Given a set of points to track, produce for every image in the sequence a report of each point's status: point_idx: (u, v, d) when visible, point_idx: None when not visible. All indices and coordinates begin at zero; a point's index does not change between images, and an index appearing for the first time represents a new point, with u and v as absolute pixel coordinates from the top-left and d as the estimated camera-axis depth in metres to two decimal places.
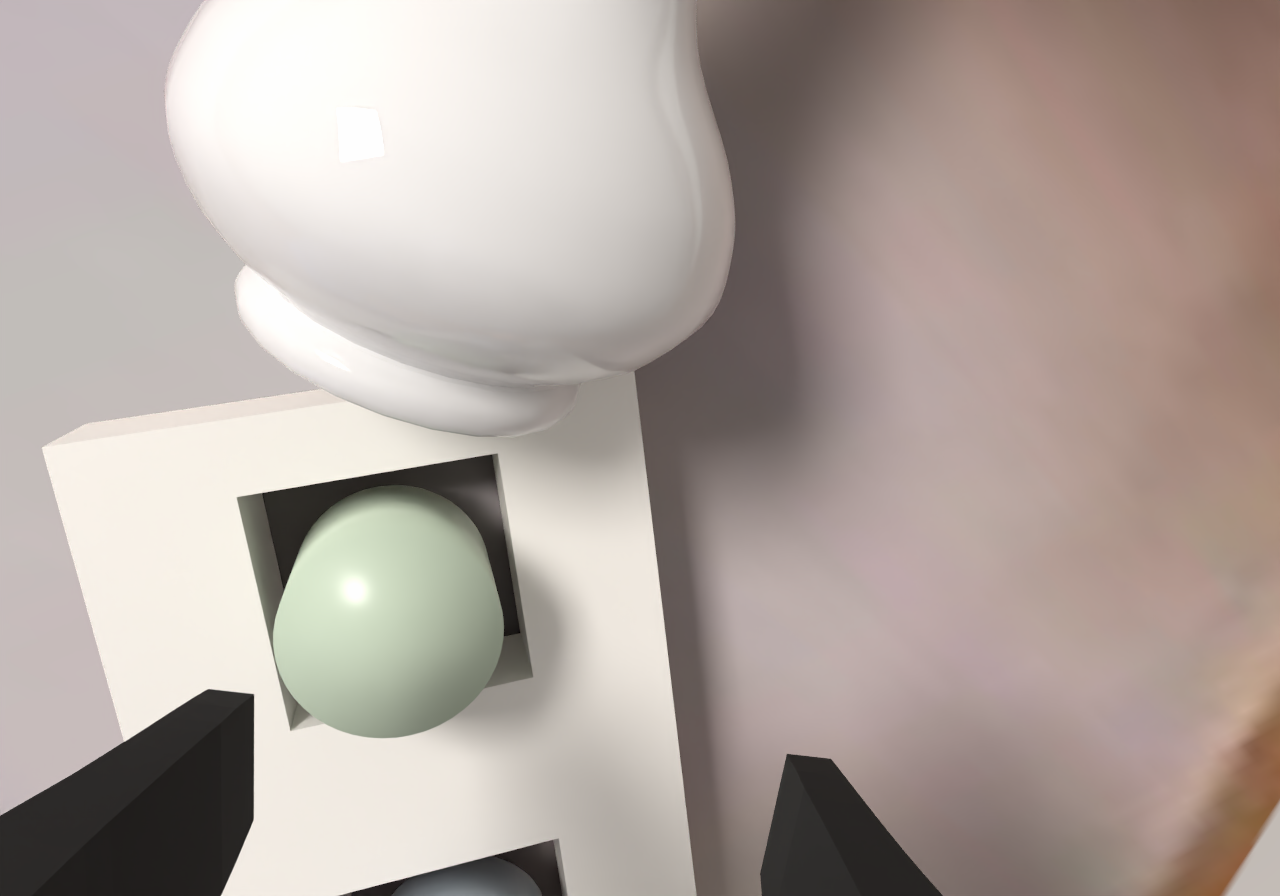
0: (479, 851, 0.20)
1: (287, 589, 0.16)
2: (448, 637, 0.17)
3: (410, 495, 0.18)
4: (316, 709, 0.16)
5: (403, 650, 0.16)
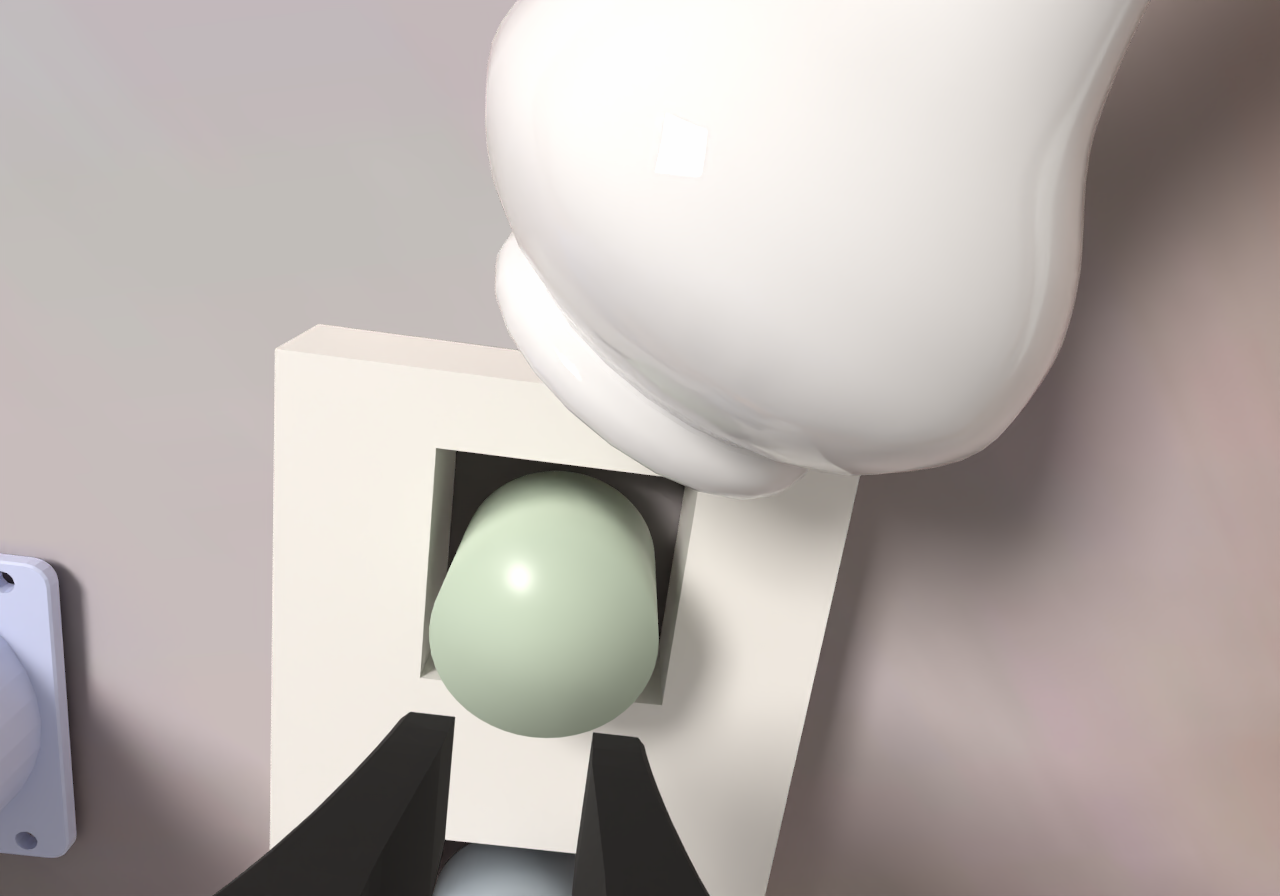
0: (557, 844, 0.20)
1: (460, 565, 0.15)
2: (597, 659, 0.16)
3: (599, 494, 0.18)
4: (452, 684, 0.16)
5: (550, 657, 0.16)
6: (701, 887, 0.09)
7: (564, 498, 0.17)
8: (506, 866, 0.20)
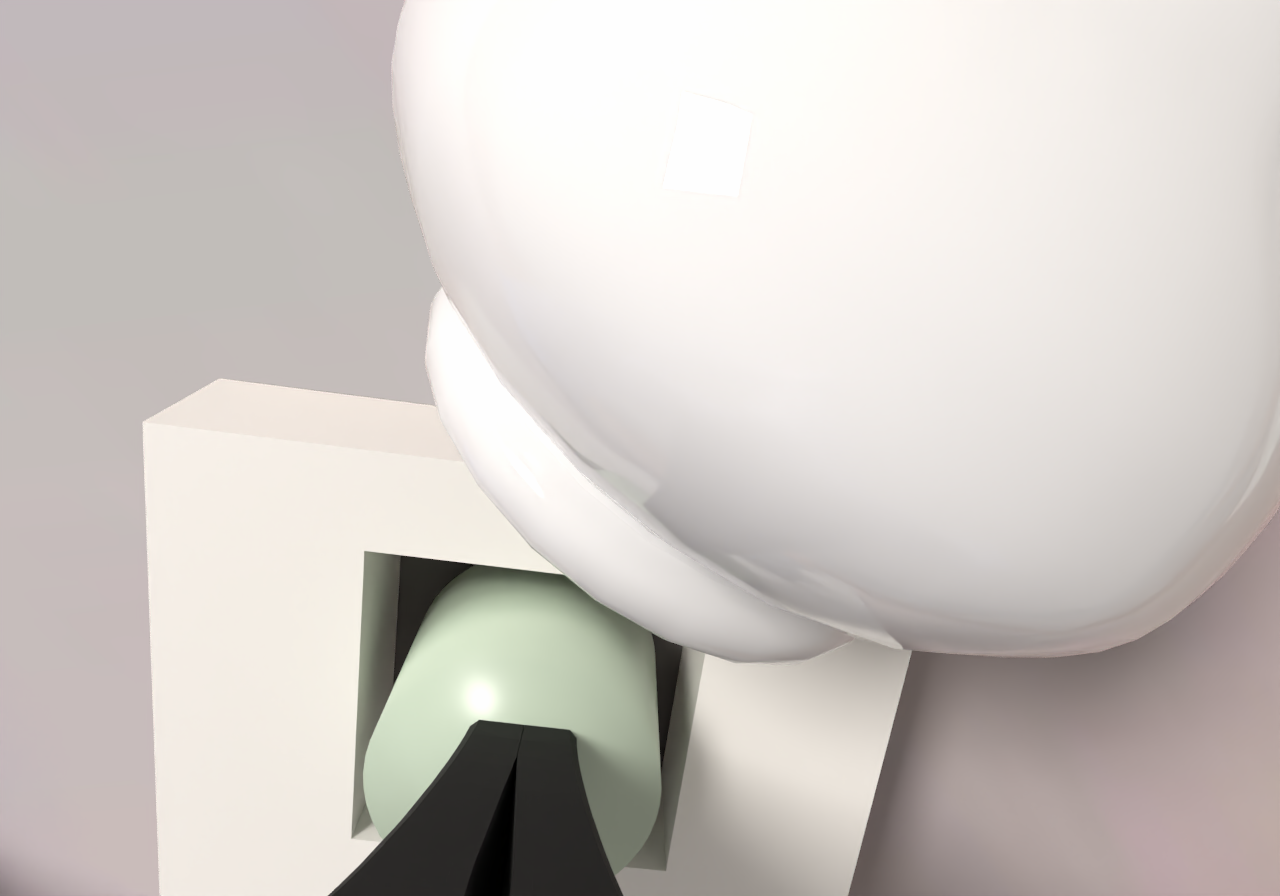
0: None
1: (402, 695, 0.12)
2: None
3: None
4: None
5: None
6: (610, 878, 0.09)
7: (540, 596, 0.13)
8: None
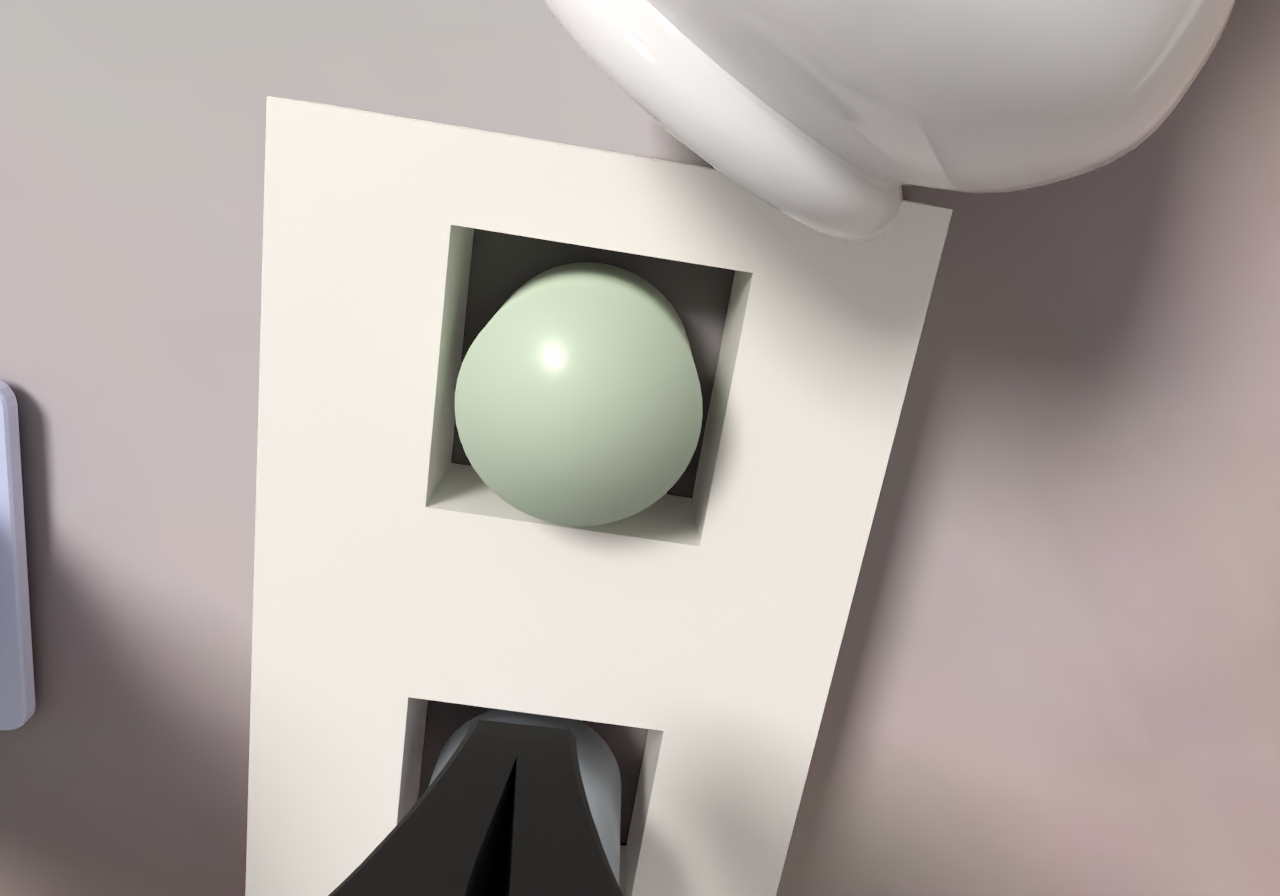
0: (576, 711, 0.18)
1: (490, 322, 0.14)
2: (635, 435, 0.15)
3: (637, 280, 0.16)
4: (478, 461, 0.15)
5: (584, 432, 0.15)
6: (609, 878, 0.09)
7: (600, 274, 0.16)
8: None
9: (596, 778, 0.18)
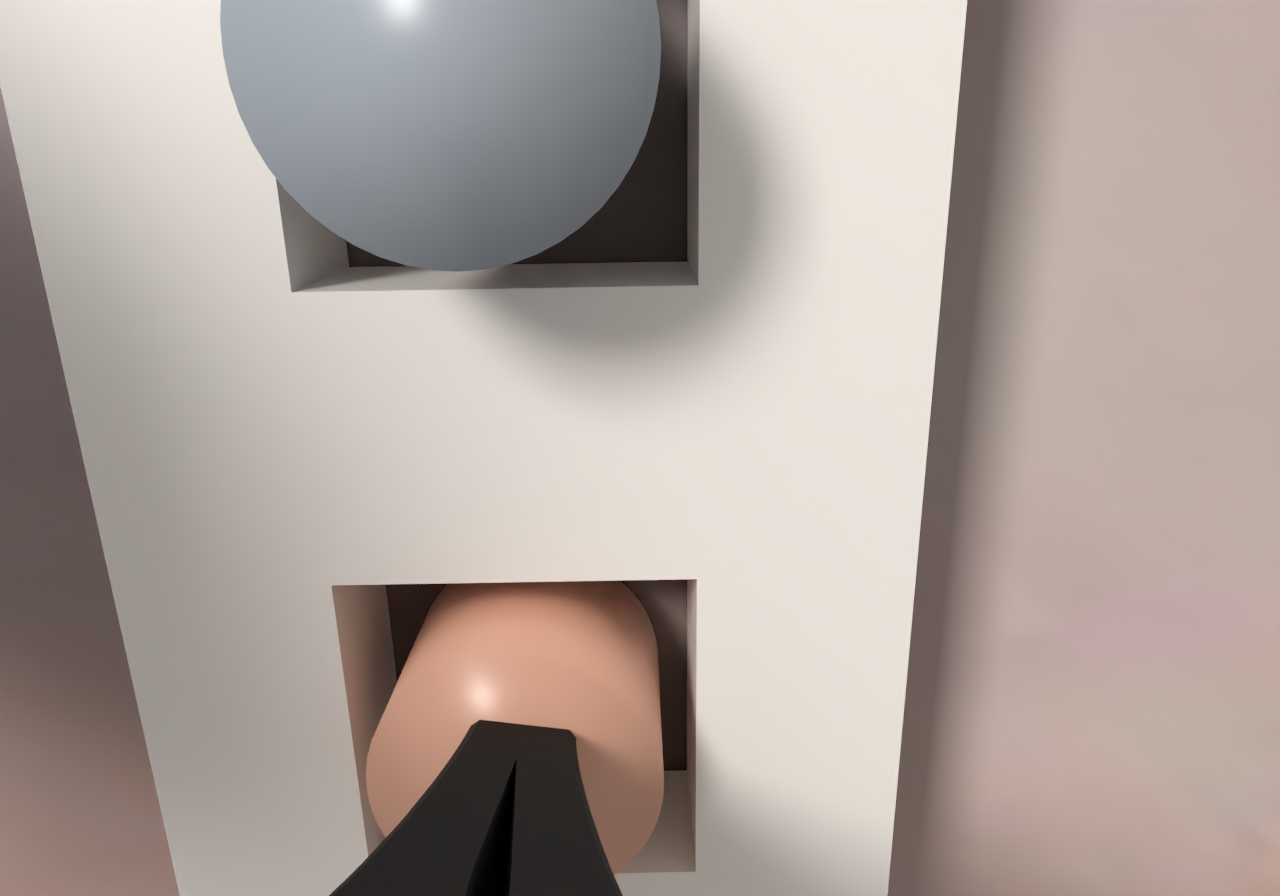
0: None
1: None
2: None
3: None
4: None
5: None
6: (609, 877, 0.09)
7: None
8: None
9: None
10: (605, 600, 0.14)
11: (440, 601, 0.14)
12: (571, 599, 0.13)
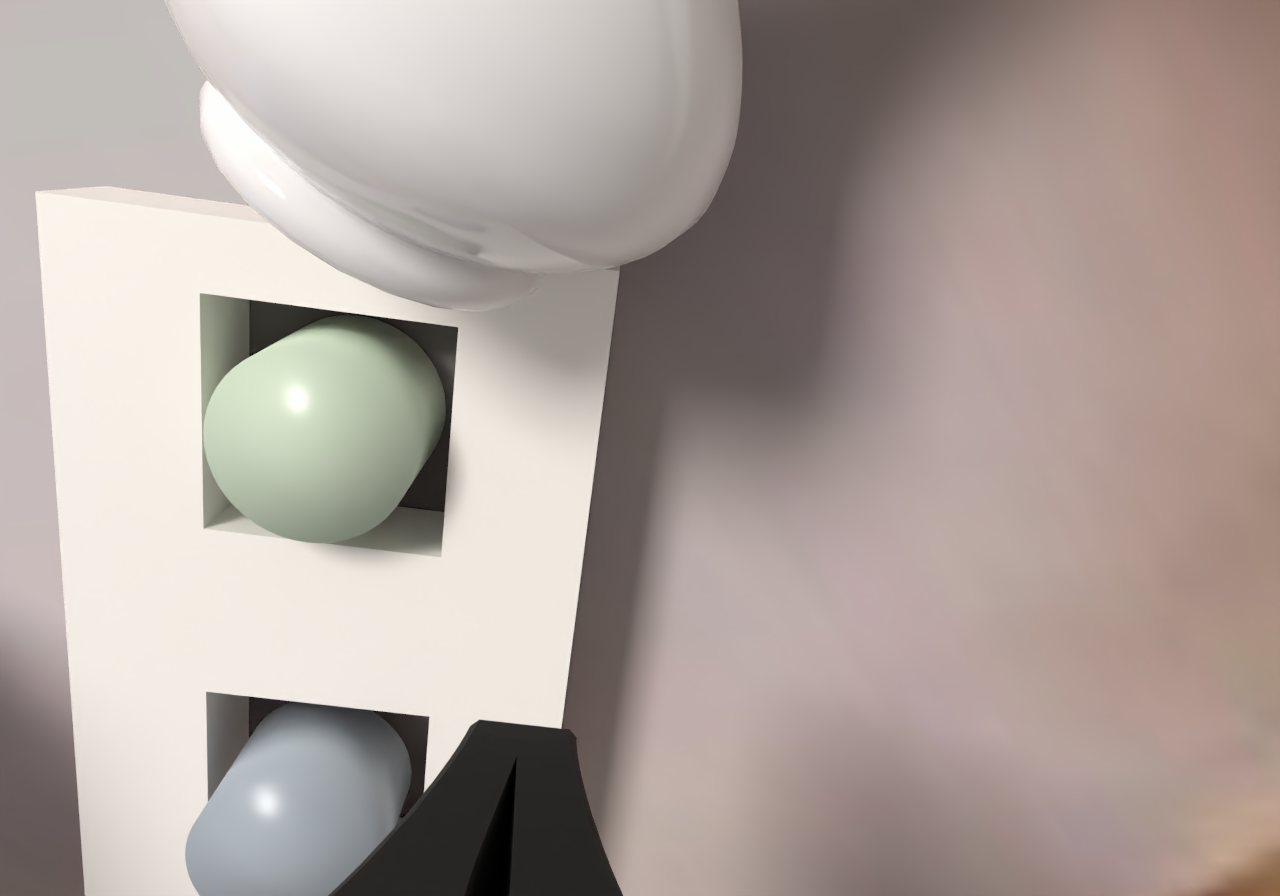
0: (351, 701, 0.21)
1: (227, 375, 0.17)
2: (359, 466, 0.18)
3: (380, 331, 0.19)
4: (229, 490, 0.18)
5: (316, 464, 0.18)
6: (609, 878, 0.09)
7: (340, 329, 0.19)
8: (303, 723, 0.21)
9: (371, 758, 0.21)
10: None
11: None
12: None
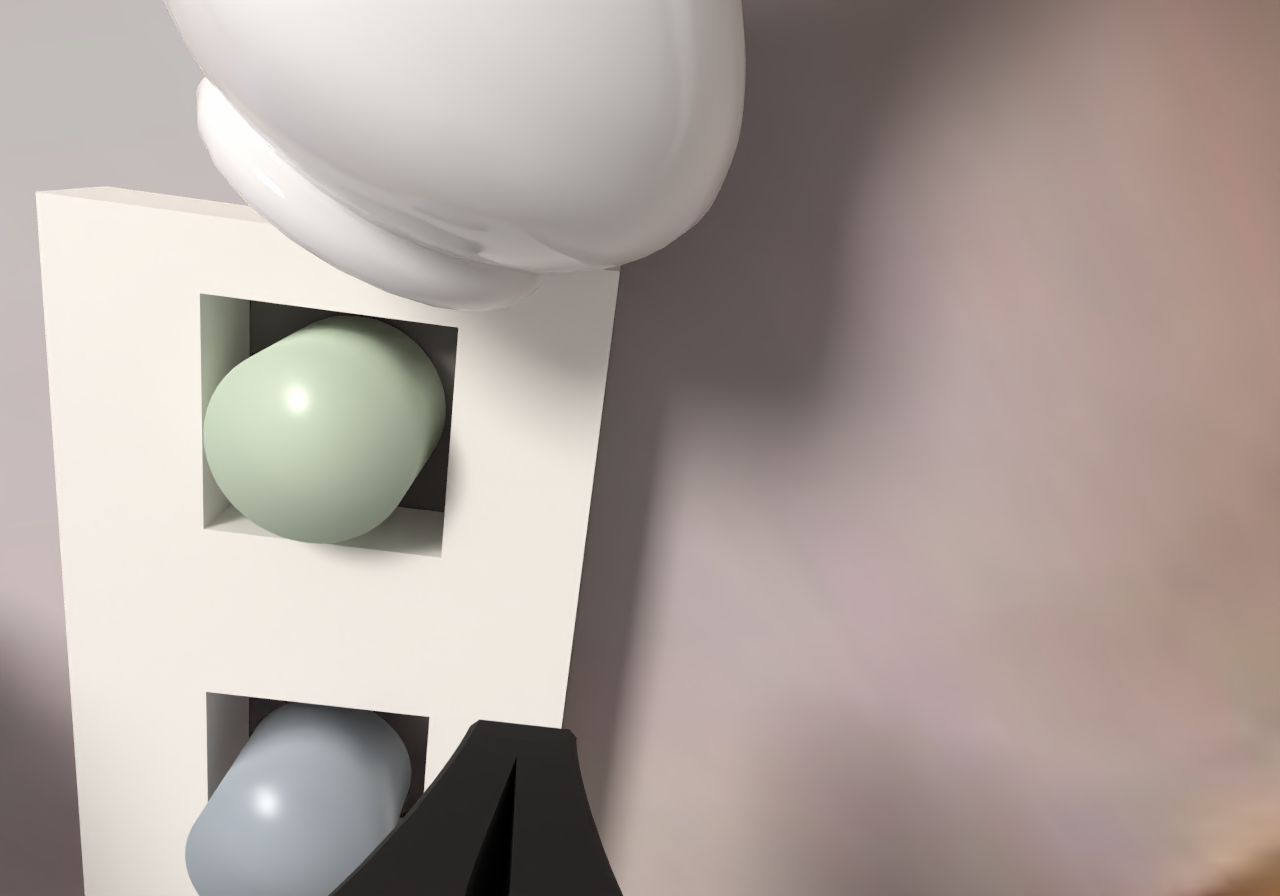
0: (351, 701, 0.21)
1: (227, 376, 0.17)
2: (359, 466, 0.18)
3: (381, 332, 0.19)
4: (229, 490, 0.18)
5: (316, 465, 0.18)
6: (609, 878, 0.09)
7: (340, 329, 0.19)
8: (303, 723, 0.21)
9: (371, 759, 0.21)
10: None
11: None
12: None
